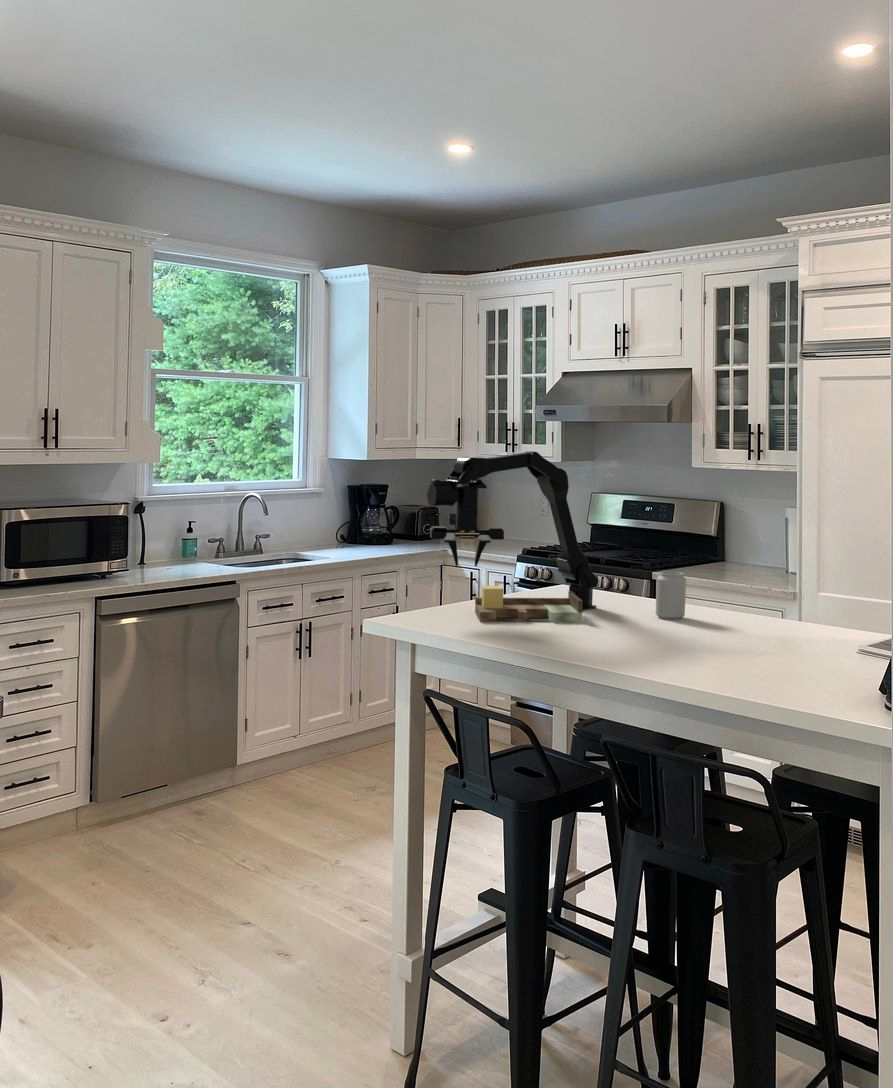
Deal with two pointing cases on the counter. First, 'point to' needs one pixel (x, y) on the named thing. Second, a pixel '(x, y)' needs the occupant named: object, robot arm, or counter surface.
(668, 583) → the can
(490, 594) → the block
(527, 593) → the counter surface
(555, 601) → the deck
